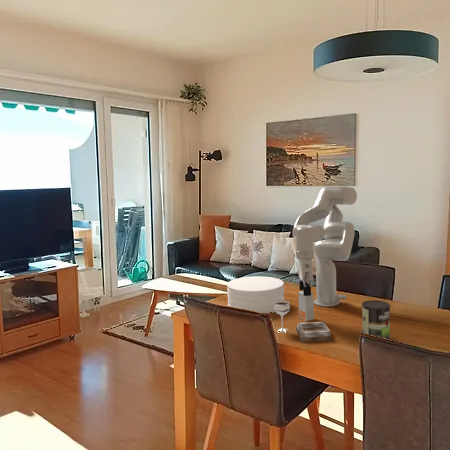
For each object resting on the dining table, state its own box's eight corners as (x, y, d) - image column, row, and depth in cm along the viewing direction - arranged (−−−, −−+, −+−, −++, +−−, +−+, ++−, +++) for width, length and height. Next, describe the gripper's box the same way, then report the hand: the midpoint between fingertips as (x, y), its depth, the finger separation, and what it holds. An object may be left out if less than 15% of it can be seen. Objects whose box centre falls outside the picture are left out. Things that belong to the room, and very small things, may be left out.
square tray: (324, 329, 186) (324, 321, 186) (332, 340, 174) (331, 331, 174) (296, 330, 186) (296, 322, 186) (301, 341, 174) (301, 333, 174)
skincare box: (298, 317, 202) (297, 291, 201) (306, 315, 204) (306, 290, 203) (306, 321, 197) (305, 294, 195) (314, 319, 198) (313, 293, 197)
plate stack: (283, 297, 235) (282, 275, 234) (285, 314, 208) (284, 290, 206) (230, 297, 238) (229, 276, 237) (225, 315, 211) (224, 291, 209)
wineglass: (280, 326, 192) (279, 299, 191) (293, 329, 188) (292, 301, 186) (271, 331, 187) (270, 303, 186) (285, 334, 183) (284, 305, 181)
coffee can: (395, 339, 173) (395, 304, 171) (379, 346, 167) (379, 310, 165) (372, 332, 181) (372, 298, 179) (356, 338, 175) (356, 303, 173)
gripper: (317, 258, 188) (317, 297, 190) (309, 251, 205) (309, 287, 207) (299, 258, 188) (300, 298, 190) (293, 251, 205) (293, 288, 207)
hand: (305, 292), depth 198 cm, fingers open, 9 cm apart
